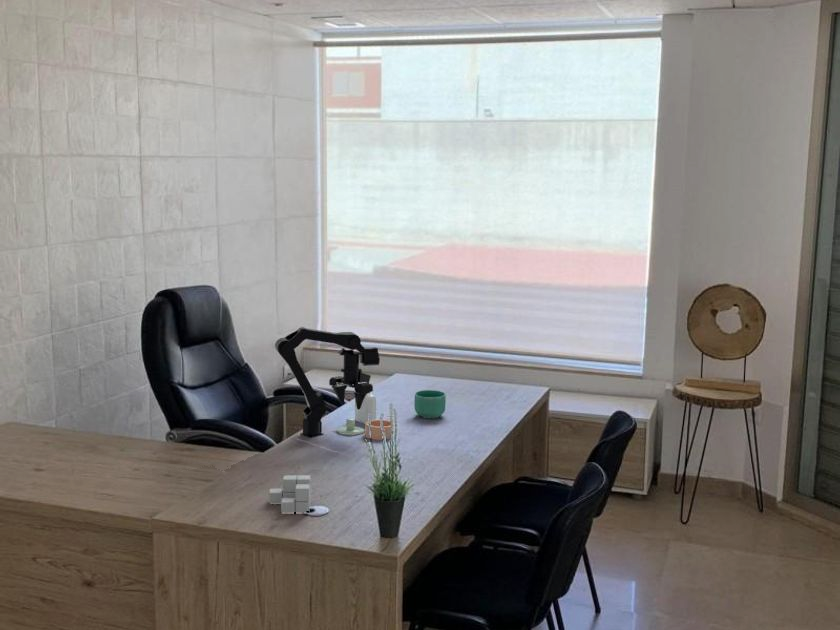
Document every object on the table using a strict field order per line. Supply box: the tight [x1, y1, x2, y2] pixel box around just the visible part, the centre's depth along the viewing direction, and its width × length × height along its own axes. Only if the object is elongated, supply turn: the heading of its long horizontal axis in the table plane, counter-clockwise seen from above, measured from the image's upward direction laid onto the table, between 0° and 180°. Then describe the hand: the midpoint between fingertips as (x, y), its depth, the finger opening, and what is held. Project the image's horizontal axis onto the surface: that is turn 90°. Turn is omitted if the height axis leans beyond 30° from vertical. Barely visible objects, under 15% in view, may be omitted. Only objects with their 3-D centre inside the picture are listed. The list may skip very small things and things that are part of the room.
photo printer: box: [354, 392, 377, 425], centre depth 371 cm, size 10×4×12 cm, turn 39°
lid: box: [336, 417, 365, 436], centre depth 357 cm, size 10×10×5 cm
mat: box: [331, 429, 365, 438], centre depth 358 cm, size 10×10×1 cm
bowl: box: [364, 419, 397, 441], centre depth 353 cm, size 11×11×5 cm
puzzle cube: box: [268, 474, 312, 513], centre depth 277 cm, size 12×12×8 cm
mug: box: [413, 389, 447, 420], centre depth 385 cm, size 17×13×10 cm
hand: (350, 406), depth 356 cm, fingers open, 9 cm apart
